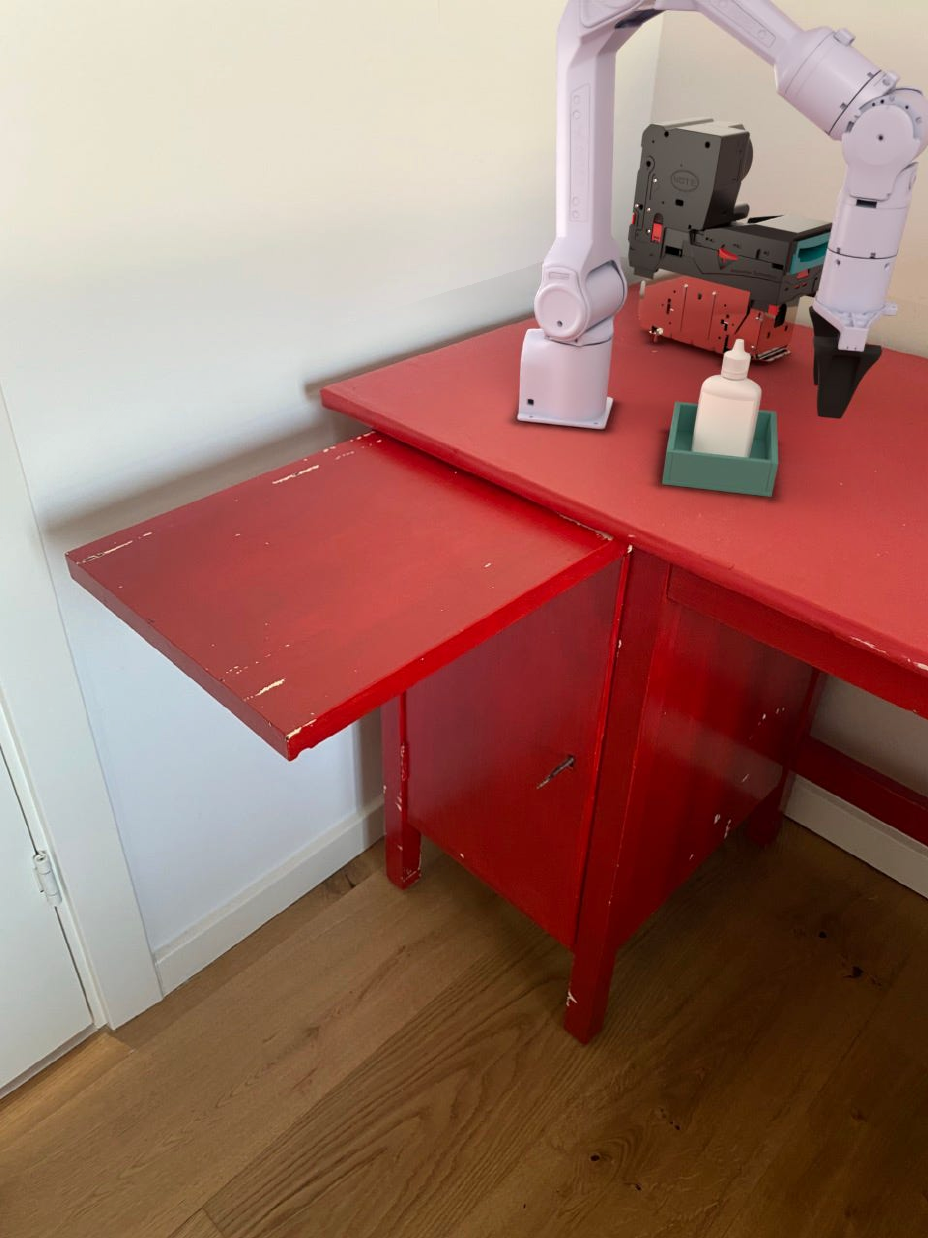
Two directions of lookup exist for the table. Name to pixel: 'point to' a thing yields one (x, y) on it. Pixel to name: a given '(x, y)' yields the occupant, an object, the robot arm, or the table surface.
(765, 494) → the desk tidy
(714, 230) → the bill acceptor
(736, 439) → the eye dropper bottle
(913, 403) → the table surface
